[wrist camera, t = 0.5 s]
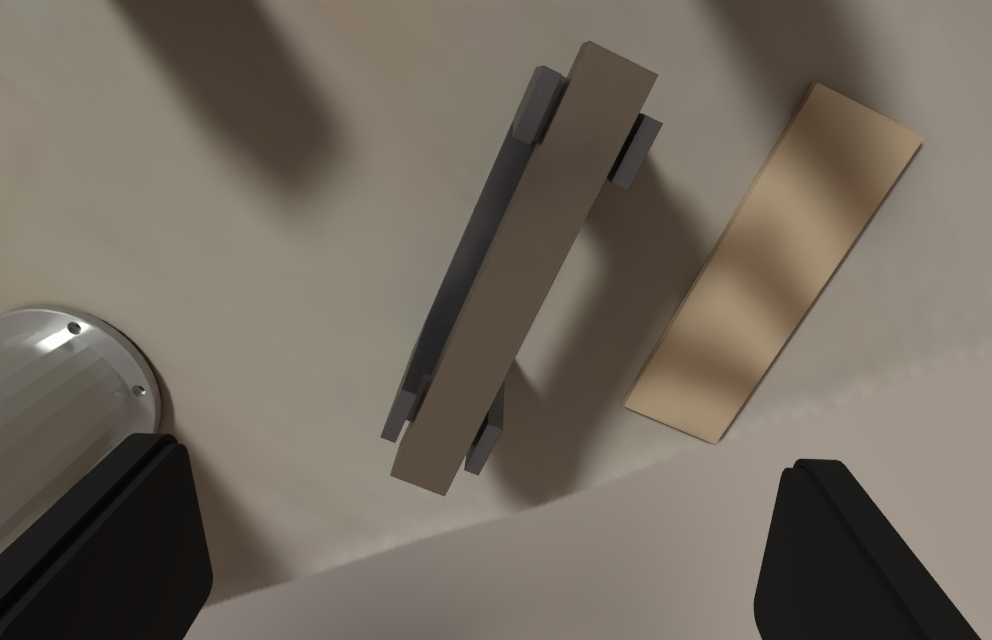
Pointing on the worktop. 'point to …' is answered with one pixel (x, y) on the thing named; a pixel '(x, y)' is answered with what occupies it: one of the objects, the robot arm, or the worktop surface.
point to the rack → (478, 241)
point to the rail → (523, 260)
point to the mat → (771, 261)
